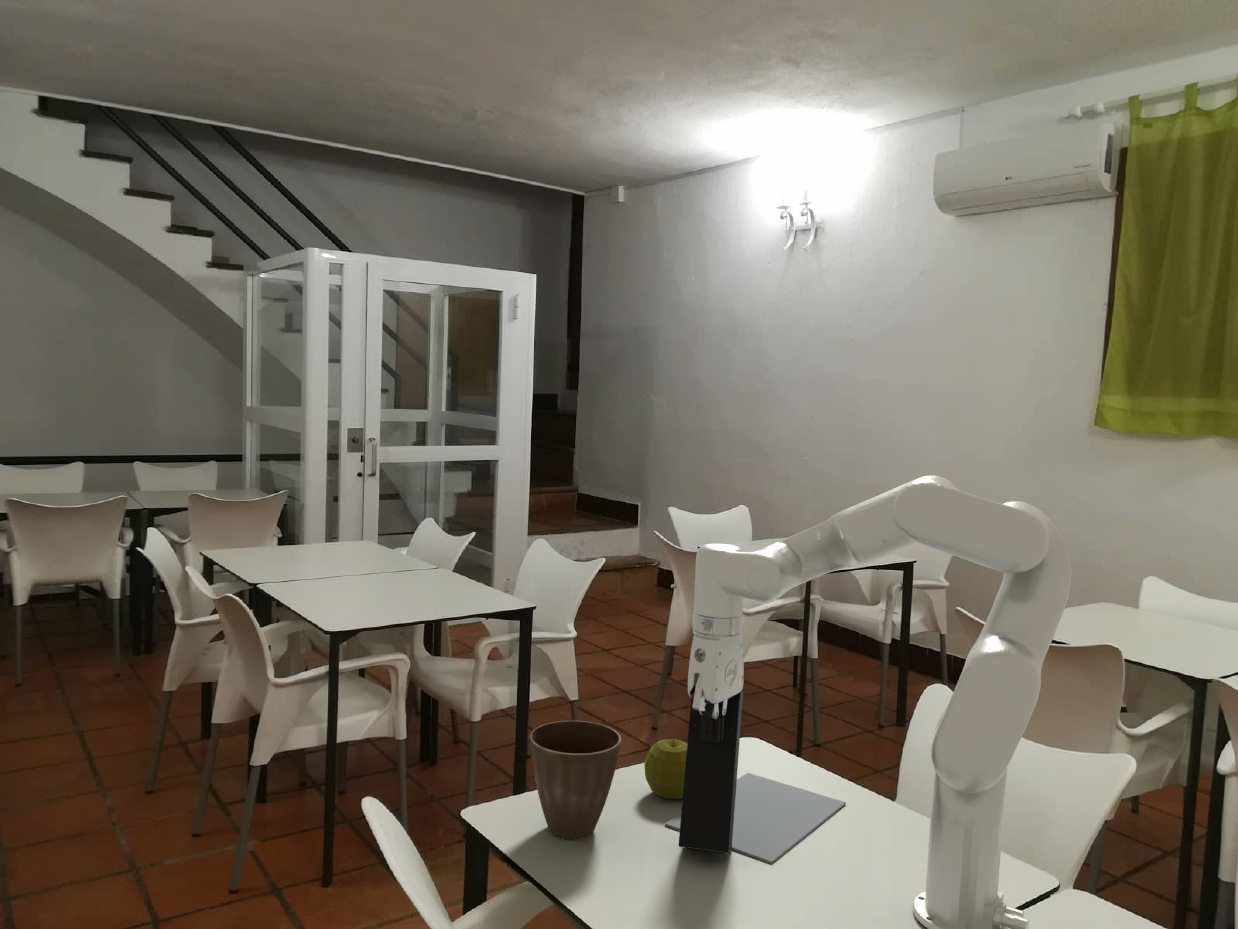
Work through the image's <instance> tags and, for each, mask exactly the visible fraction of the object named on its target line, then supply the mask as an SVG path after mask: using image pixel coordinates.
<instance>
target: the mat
mask: <svg viewBox="0 0 1238 929" xmlns="http://www.w3.org/2000/svg"><path fill="white" fill-rule="evenodd" d="M845 804H846V805H847V802H846V801H843V800H840V799H836V798H834V797H829V796H826V795H823V794H820V793H816V792H813V791H810V790H807V789H803V788H801V787H800V788H799V787H796V786H793V785H790V784H788V783H787V784H786V783H784V782H783V783H782V782H780V781H777V780H773V779H770V778H766V777H763V776H760V775H757V774H754V773H751V772H747V773H745V774H744V775H742V776H740V777H739V778H737V783H736V796H735V810H734V823H733V837H732V849H731V851H735V852H737V853H740V854H743V855H746V856H749V857H752V858H753V859H754V858H755V859H757V860H760V861H763V862H765V863H768V864H771V865H772V864H773V863H775V862H777V860H778V859H779V858H781V857H782V856H783V855H785V854H786V853H787V852H788V851H790V850H791V849H792V848H793V847H795V846H796V845H797V844H798V843H800V842H801V841H802V840H804V839H805V838H806V837H807V836H808V835H810V834H812V832H813V831H815V830H816V829H817V828H819V827H820V826H821V825H822V824H823V823H824V822H826V821H827V820H828V819H829V818H831V817H832V816H834V815H835V814H836V813H837V812H839V811H840V810H841V809H842V808H843V807H845V806H846V805H845ZM840 808H841V809H840ZM680 822H681V813H680V814H678V815H676V816H674V817H673V818H672V819H670V820H668V821H666V822H665V823H664V826H665V827H667V828H670V829H673V830H676V831H679V832H680Z"/></svg>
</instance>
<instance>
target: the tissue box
mask: <svg viewBox="0 0 1238 929" xmlns="http://www.w3.org/2000/svg"><path fill="white" fill-rule="evenodd" d="M690 699H691V700H690V712H689V720H688V723H689V724H688V731H687V742H686V743H687V754H686V766H685V777H684V788H683V797H682V801H681V802H682V804H681V812H680V814H681V822H680V831H679V833H678V834H679V836H678V847H679V848H689V849H695V850H703V851H710V852H716V853H717V852H718V853H725V854H729V853H730V852H731V851H732V850H731V849H732V837H733V823H734V810H735V796H736V783H737V779H738V768H739V752H740V739H741V738H740V737H741V729H742V728H741V726H742V712H743V702H744V692H743V691H742V690H741V691H740V692H739V693H738V694H736V695H734V696H732V697H730V698H729V699H728V701H727V708H726V713H725V715H722V716H724V730H723V740H722V741H720V742H719V743H712V742H709V741H705V740H702V739H701V738H700V731H701V715H700V711H699V710H695V709H693V708H692V706H693V700H694V698H690Z"/></svg>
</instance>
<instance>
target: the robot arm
mask: <svg viewBox="0 0 1238 929" xmlns="http://www.w3.org/2000/svg"><path fill="white" fill-rule="evenodd" d="M920 544H921V545H924V546H927V547H928V548H932V549H934V550H937V551H939V552H942V553H944V554H948V555H951V556H954V557H957V558H960V559H963V560H966V561H968V562H971V563H974V564H977V565H980V566H983V567H986V568H989V569H991V570H995V571H999V572H1003V577H1002V581H1001V583H1000V587H999V589H998V591H997V594H996V595H995V596H996V597H995V598H994V601H993V604H992V607H991V610H990V611H989V614H988V616H987V619H986V620H985V623H984V625H983V627H982V630H981V632H980V634H979V635H978V638H977V639H976V641H975V643H974V644H973V645H972V647H971V648H970V650H969V652H968V655H967V656H966V659H965V663H964V665H963V667H962V672H961V673H960V676H959V677H958V678H959V679H958V680H957V683H956V686H955V688H954V690H953V692H952V695H951V697H950V700H949V702H948V704H947V706H946V707H945V708H944V710H943V711H942V713H941V714H940V715H939V718H938V721H937V723H936V727H935V730H934V733H933V736H932V740H931V744H930V759H931V762H932V766H933V768H934V773H933V774H934V775H933V786H932V797H931V808H930V821H929V822H930V823H929V835H928V836H929V840H928V848H927V849H928V851H927V853H928V854H927V866H926V878H925V879H926V880H925V883H926V884H925V891H923V892H920V893H919V894H918V895H916V897H915V898H914V899H913V903H912V912H913V915H914V917H915V918H916V919H917V921H918V922H919V923H920V924H921V925H922V926H924V927H925V928H927V929H1006V928H1007V929H1029V926H1030V921H1029V919H1027V918H1024V913H1025V912H1024V911H1023V910H1020V909H1017V908H1013V907H1010V906H1008V905H1007V903H1004V892H1003V891H999V880H1000V879H999V878H1000V866H1001V864H1000V863H1001V852H1002V838H1003V826H1004V825H1003V823H1004V814H1005V802H1006V790H1007V789H1006V788H1007V780H1008V779H1007V777H1008V767H1009V765H1010V762H1011V761H1012V758H1013V756H1014V755H1015V752H1016V750H1017V748H1018V746H1019V744H1020V741H1021V739H1022V738H1023V735H1024V733H1025V730H1026V729H1027V727H1028V723H1029V721H1030V719H1031V717H1032V714H1033V712H1034V711H1035V708H1036V705H1037V703H1038V699H1039V697H1040V692H1041V688H1042V687H1041V684H1042V683H1041V682H1042V667H1043V664H1044V661H1045V658H1046V656H1047V653H1048V651H1049V648H1050V647H1051V643H1052V641H1053V639H1054V637H1055V634H1056V632H1057V629H1058V627H1059V624H1060V621H1061V620H1062V617H1063V613H1064V611H1065V609H1066V605H1067V603H1068V599H1069V596H1070V592H1071V585H1072V564H1071V558H1070V554H1069V550H1068V547H1067V545H1066V544H1067V543H1066V542H1065V540H1064V538H1063V536H1062V534H1061V532H1060V531H1059V529H1058V528H1057V527H1056V526H1055V525H1054V523H1053V522H1052V520H1050V518H1049V517H1048V516H1047V515H1046V514H1045V513H1044V512H1043V511H1042V510H1040V509H1039V508H1038V507H1036V506H1034V505H1033V504H1030V503H1028V502H1025V501H1019V500H1018V501H1017V500H1016V501H1015V500H1014V501H1008V502H1004V503H1000V502H997V501H994V500H990V499H988V498H984V497H981V496H977V495H975V494H972V493H968V492H966V491H963V490H960V489H958V488H957V487H956V486H955V485H954V484H953V483H952V481H950V480H948V479H946V478H944V477H942V476H939V475H925V476H921V477H918V478H916V479H913V480H911V481H909V482H906V483H904V484H902V485H900V486H897V487H894V488H892V489H890V490H888V491H885V492H883V493H881V494H879V495H877V496H873V497H872V498H869V499H866V500H864V501H861V502H860V503H857V504H855V505H852V506H850V507H847V508H845V509H843V510H841V511H839V512H838V513H837V512H836V513H835V514H833V515H832V516H831V517H829V518H828V519H826V520H824V521H822V522H821V523H818V524H817V525H814V526H812V527H809V528H807V529H804V530H802V531H801V532H798V533H796V534H793V535H791V536H788V537H786V538H784V539H782V540H778V541H777V542H773V543H772V544H769V545H767V546H764V547H762V548H760V549H758V550H756V551H744V550H743V549H742V548H741V547H739V546H737V545H734V544H729V543H728V544H727V543H706V544H703V545H700V546H699V548H698V549H697V551H696V556H695V571H694V572H695V575H694V576H695V577H694V594H693V596H694V597H693V612H692V613H693V615H692V634H693V637H692V642H691V648H690V657H689V662H688V672H687V673H688V675H687V694H688V697H689V698H690V699H691V698H694V700H693V706H692V708H693V709H695V710H699V711H700V715H701V731H700V738H701V739H702V740H705V741H709V742H712V743H719V742H720V741H722V740H723V730H724V716H722V715H725V713H726V708H727V701H728V699H729V698H730V697H732V696H734V695H736V694H738V693H739V692H740V691H742V690H743V687H744V673H745V672H744V670H745V669H744V666H745V664H744V663H745V662H744V660H745V659H744V657H745V656H744V644H743V643H744V642H743V641H744V640H743V634H742V628H743V626H742V625H743V609H744V608H743V607H744V606H743V605H744V598H745V599H748V600H751V601H755V602H756V601H757V602H761V603H762V602H763V603H766V602H768V603H769V602H773V601H775V600H777V599H779V598H780V597H781V596H783V595H784V594H786V593H787V592H788V591H790V590H792V589H793V588H795V587H797V586H800V585H802V584H805V583H807V582H809V581H812V580H814V579H816V578H819V577H821V576H824V575H826V574H829V573H831V572H834V571H837V570H840V569H845V568H859V567H863V566H867V565H869V564H872V563H875V562H877V561H879V560H881V559H882V560H883V559H885V558H887V557H889V556H892V555H894V554H896V553H898V552H899V553H900V552H901V551H904V550H907V549H909V548H911V547H914V546H918V545H920Z"/></svg>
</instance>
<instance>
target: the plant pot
mask: <svg viewBox="0 0 1238 929" xmlns="http://www.w3.org/2000/svg"><path fill="white" fill-rule="evenodd" d="M529 740H530V751H531V759H532V767H533V768H532V769H533V773H534V779H535V780H534V781H535V784H536V788H537V793H538V798H539V802H540V806H541V809H542V812H543V815H544V816H543V817H544V818H545V822H546V825H547V828H548V830H549V833H550V832H551V833H552V834H551V833H550V834H551V835H552V836H554V835H555V836H554V837H556V838H558V837H559V839H561V838H564V839H563V840H566V839H570V840H569V841H577V839H579V840H583V839H582V838H584V839H586V838H588V837H590V836H591V835H592V834H593V833H594V831H595V829H596V826H597V825H598V823H599V821H600V818H601V816H602V812H603V810H604V807H605V805H606V802H607V799H608V795H609V793H610V790H611V786H612V783H613V781H614V776H615V771H616V767H617V763H618V759H619V754H620V753H619V752H620V749H621V748H620V747H621V742H622V737H621V734H620V733H619V732H618V731H617V730H615V729H614V728H612V727H610V726H608V725H604V724H602V723H596V722H593V721H587V720H586V721H585V720H560V721H559V720H558V721H553V722H548V723H545V724H542V725H540V726H537V727H536V728H534V729H533V730H532V731H531V733H530V735H529ZM574 839H575V840H574Z"/></svg>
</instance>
